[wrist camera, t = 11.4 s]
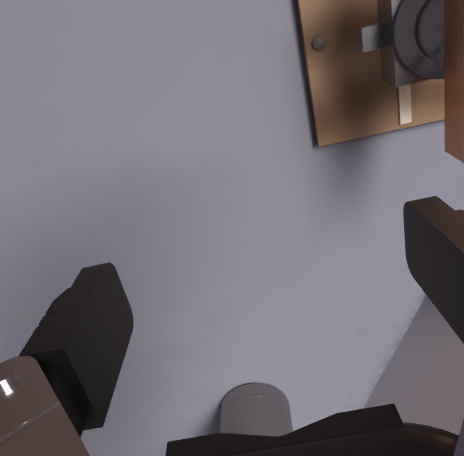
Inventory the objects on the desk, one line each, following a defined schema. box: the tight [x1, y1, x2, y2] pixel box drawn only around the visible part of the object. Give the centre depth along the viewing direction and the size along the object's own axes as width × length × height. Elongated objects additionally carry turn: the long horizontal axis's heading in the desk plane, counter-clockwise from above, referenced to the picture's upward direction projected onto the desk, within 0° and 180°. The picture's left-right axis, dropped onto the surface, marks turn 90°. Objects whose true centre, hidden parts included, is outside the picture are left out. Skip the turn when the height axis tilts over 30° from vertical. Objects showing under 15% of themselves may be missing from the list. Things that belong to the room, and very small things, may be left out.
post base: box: [297, 0, 445, 147], centre depth 33 cm, size 18×16×9 cm
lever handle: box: [357, 0, 464, 163], centre depth 27 cm, size 10×16×9 cm, turn 13°
